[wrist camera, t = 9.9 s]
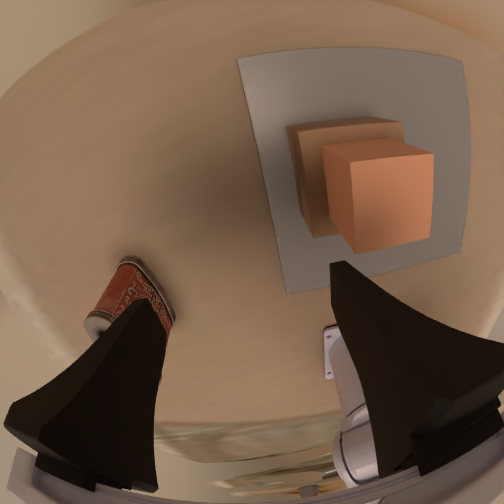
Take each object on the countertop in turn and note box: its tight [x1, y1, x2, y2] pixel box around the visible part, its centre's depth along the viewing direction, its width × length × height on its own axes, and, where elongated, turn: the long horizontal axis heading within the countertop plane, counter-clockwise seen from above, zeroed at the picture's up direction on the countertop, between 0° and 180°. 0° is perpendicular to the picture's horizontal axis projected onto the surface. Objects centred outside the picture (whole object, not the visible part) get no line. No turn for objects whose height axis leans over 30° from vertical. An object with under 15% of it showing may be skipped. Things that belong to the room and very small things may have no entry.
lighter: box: [84, 256, 176, 385], centre depth 19 cm, size 8×3×10 cm, turn 17°
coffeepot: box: [299, 485, 318, 498], centre depth 74 cm, size 15×9×18 cm, turn 77°
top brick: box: [321, 138, 434, 255], centre depth 12 cm, size 4×4×4 cm
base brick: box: [286, 117, 404, 239], centre depth 15 cm, size 6×6×4 cm
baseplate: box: [237, 47, 471, 295], centre depth 17 cm, size 18×18×1 cm
